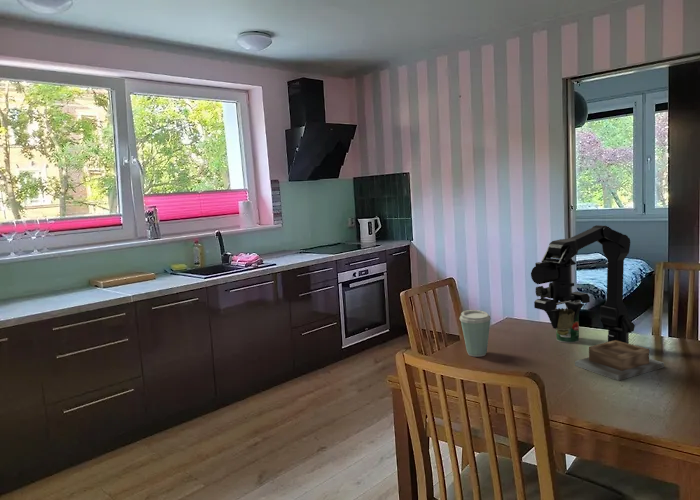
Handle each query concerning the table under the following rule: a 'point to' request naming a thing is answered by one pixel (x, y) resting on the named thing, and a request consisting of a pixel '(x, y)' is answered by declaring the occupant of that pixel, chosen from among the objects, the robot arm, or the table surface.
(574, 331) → the canned tomato
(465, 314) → the disposable coffee cup
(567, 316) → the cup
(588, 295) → the robot arm
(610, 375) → the wooden square tray
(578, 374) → the table surface
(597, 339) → the table surface
